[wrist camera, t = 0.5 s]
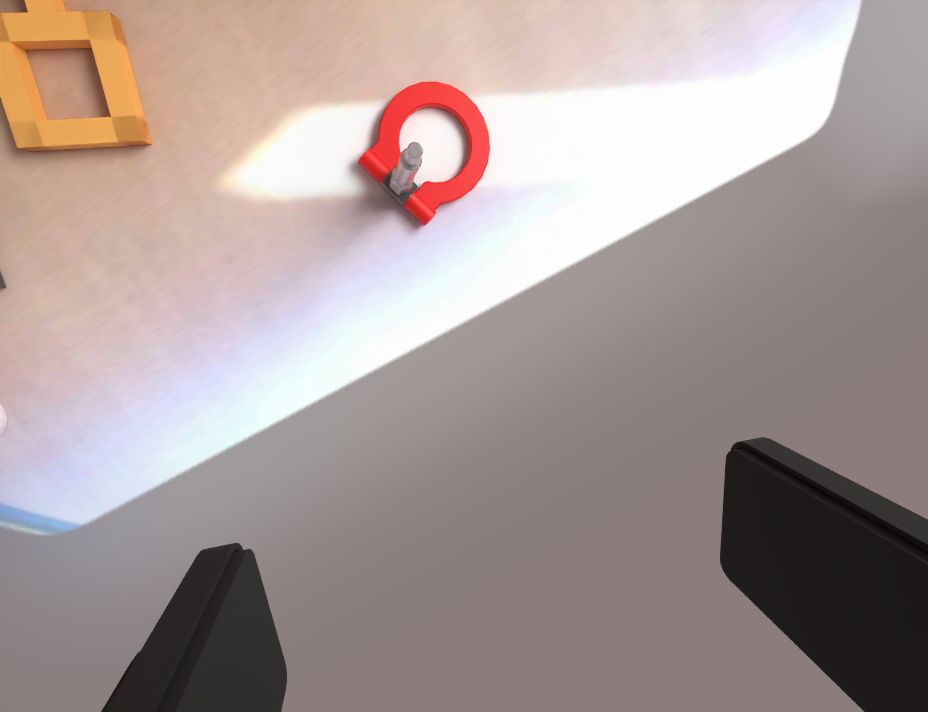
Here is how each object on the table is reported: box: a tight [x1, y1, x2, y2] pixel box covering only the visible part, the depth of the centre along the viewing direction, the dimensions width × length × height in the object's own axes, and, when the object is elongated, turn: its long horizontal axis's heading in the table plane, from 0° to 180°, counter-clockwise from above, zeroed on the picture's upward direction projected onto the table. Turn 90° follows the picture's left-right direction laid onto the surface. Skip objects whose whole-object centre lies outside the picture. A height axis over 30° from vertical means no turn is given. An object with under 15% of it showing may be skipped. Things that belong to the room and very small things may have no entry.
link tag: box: [0, 0, 151, 151], centre depth 24 cm, size 13×7×8 cm, turn 5°
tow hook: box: [358, 82, 490, 226], centre depth 28 cm, size 8×13×9 cm
